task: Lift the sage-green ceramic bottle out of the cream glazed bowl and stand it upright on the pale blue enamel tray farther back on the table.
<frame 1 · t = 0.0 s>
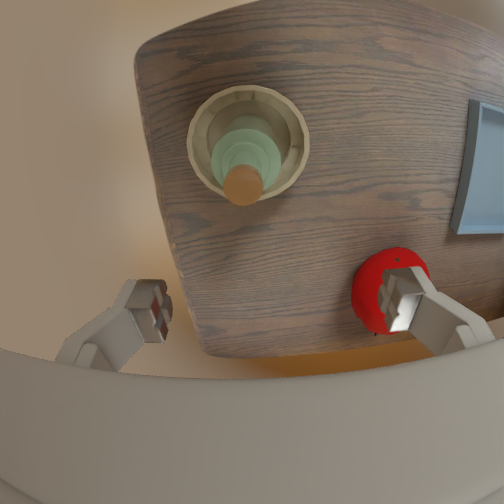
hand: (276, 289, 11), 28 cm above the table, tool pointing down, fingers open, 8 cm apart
tomato: (379, 271, 46), on the table
bowl: (248, 136, 34), on the table
tray: (494, 170, 34), on the table
bottle: (248, 137, 33), point 1 cm above the table, touching bowl
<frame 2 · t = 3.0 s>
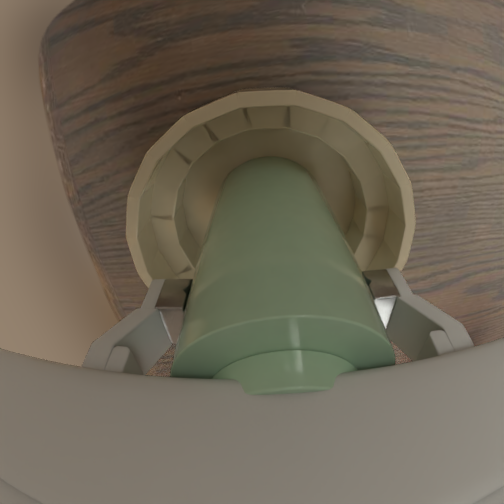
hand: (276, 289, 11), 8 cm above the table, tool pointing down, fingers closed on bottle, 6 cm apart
bowl: (269, 202, 17), on the table
bottle: (270, 208, 16), point 1 cm above the table, touching bowl, gripper
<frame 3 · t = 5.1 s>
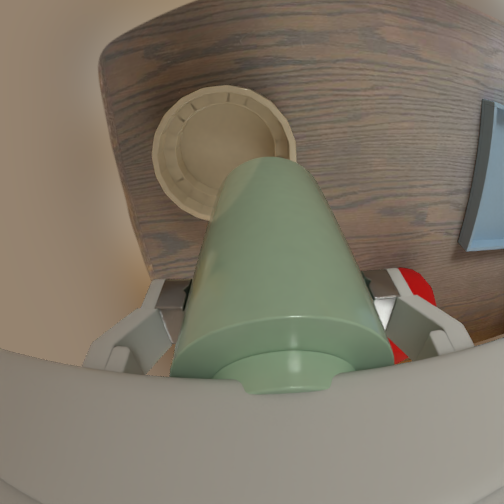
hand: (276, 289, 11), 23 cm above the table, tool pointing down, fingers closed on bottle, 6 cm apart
tomato: (379, 292, 41), on the table
bowl: (227, 145, 30), on the table
bottle: (269, 208, 16), point 16 cm above the table, touching gripper
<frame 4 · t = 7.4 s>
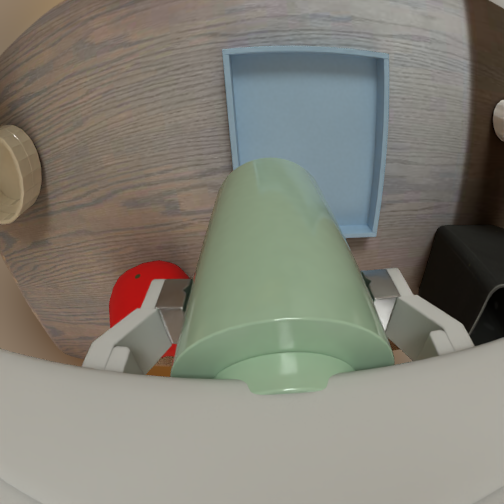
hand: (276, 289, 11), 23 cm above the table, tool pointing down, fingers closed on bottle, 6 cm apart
tomato: (164, 286, 41), on the table
cup: (503, 119, 25), on the table
flower pot: (455, 259, 38), on the table
bowl: (13, 167, 30), on the table
tray: (308, 143, 30), on the table
bottle: (269, 209, 16), point 17 cm above the table, touching gripper
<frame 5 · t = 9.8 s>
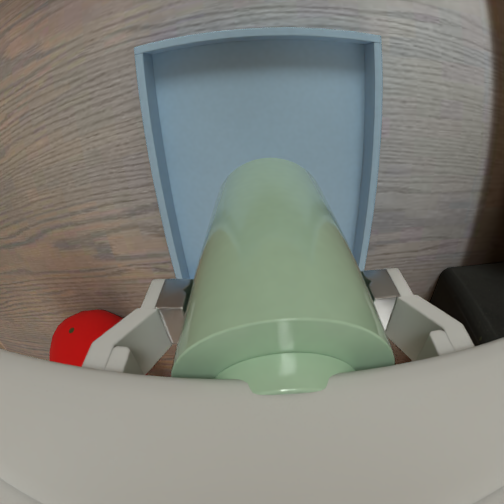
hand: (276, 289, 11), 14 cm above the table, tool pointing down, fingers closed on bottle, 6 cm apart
tomato: (113, 332, 34), on the table
flower pot: (461, 302, 31), on the table
tray: (265, 169, 22), on the table
bottle: (270, 209, 16), point 7 cm above the table, touching gripper
when the fingers open (7 cm above the table, at t = 11.9 s): bottle stays where it is, resting on tray.
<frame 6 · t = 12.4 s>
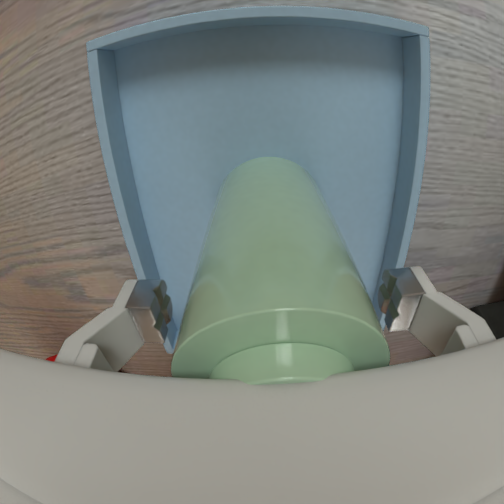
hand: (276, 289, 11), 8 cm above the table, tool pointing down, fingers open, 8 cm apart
flower pot: (481, 337, 25), on the table
tray: (268, 202, 17), on the table
bottle: (269, 207, 17), point 1 cm above the table, touching tray
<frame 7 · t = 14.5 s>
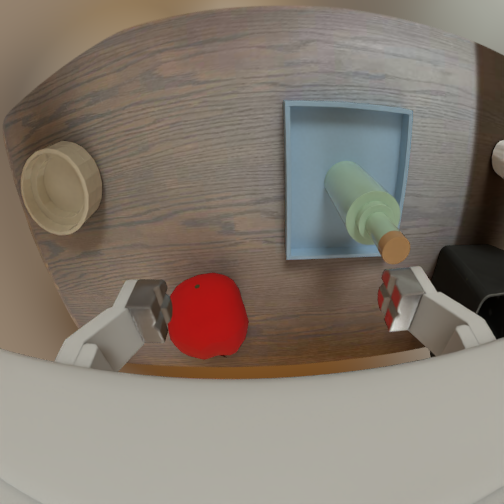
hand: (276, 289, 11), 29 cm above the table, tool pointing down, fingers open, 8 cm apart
tomato: (212, 295, 48), on the table
cup: (501, 156, 33), on the table
flower pot: (456, 273, 45), on the table
bowl: (69, 181, 38), on the table
tray: (344, 180, 37), on the table
bottle: (346, 182, 37), point 1 cm above the table, touching tray
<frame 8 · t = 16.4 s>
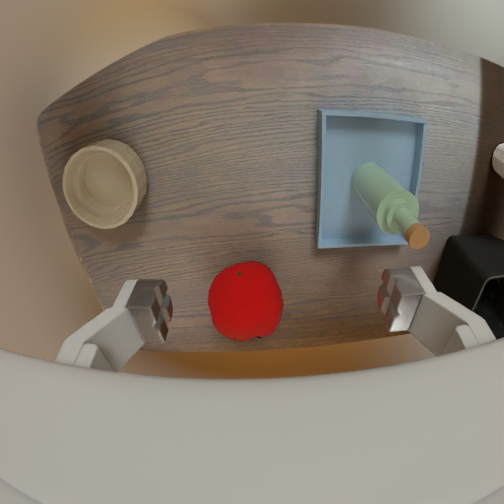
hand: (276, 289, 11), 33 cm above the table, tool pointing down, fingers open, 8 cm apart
tomato: (246, 282, 53), on the table
cup: (500, 157, 37), on the table
flower pot: (460, 260, 50), on the table
bowl: (111, 177, 42), on the table
tray: (368, 179, 42), on the table
bottle: (369, 180, 41), point 1 cm above the table, touching tray
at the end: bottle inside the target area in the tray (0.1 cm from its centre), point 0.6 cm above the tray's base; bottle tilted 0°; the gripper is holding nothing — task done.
